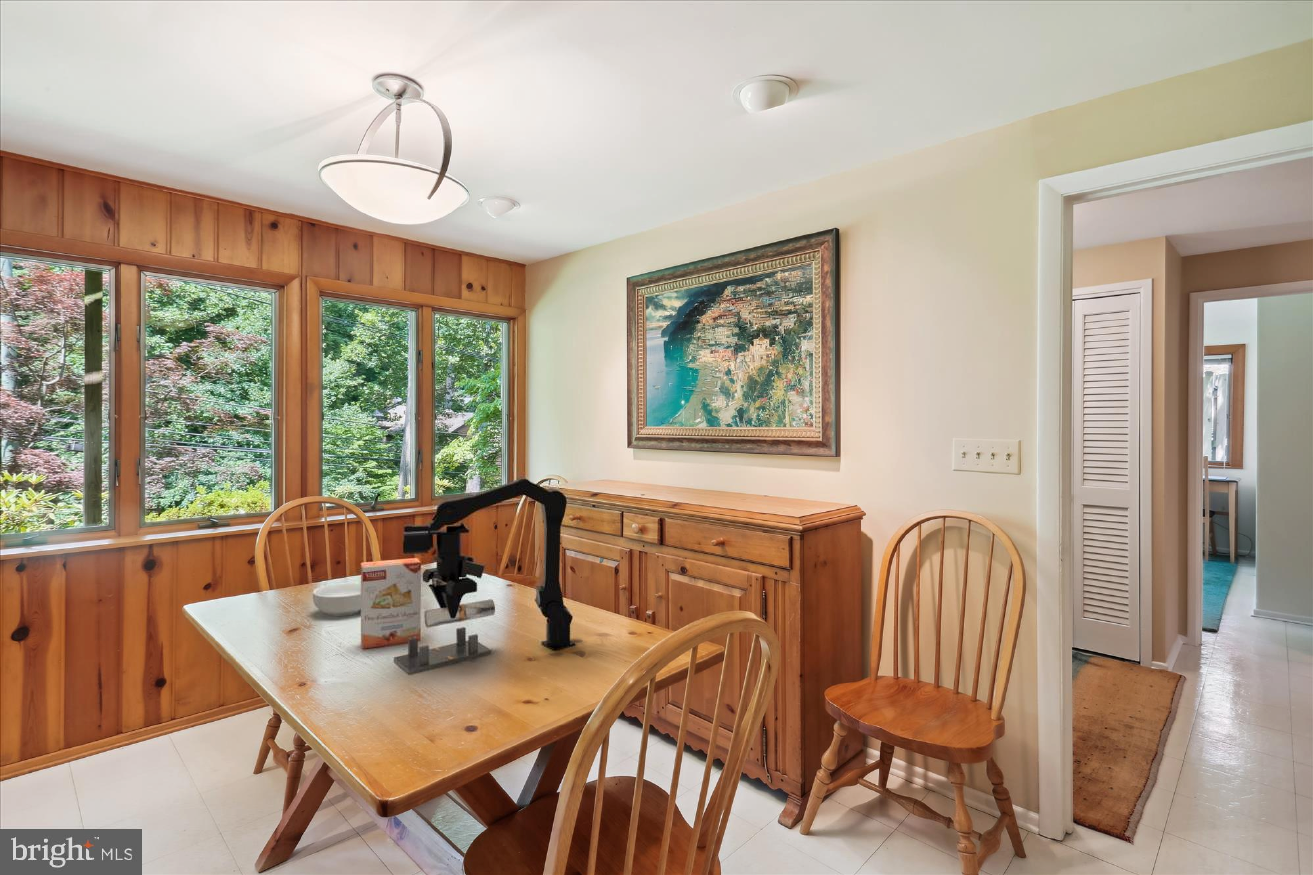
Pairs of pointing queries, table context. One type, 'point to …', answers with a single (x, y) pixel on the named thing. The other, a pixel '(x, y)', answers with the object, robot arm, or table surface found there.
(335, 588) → the cereal bowl
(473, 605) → the tube
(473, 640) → the stand
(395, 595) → the cracker box
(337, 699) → the table surface
